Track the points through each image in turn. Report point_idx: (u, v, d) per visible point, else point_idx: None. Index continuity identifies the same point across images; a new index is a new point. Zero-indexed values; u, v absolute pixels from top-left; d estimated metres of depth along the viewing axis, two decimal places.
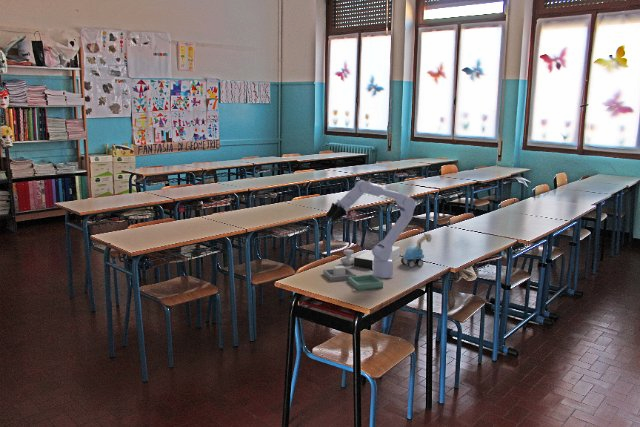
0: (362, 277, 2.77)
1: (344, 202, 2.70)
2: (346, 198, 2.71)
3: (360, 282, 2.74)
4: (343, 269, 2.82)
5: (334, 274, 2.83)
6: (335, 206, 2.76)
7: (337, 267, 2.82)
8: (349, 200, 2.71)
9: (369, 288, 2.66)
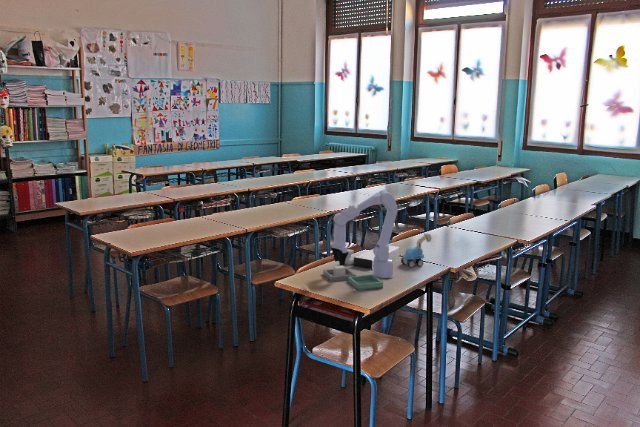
0: (362, 277, 2.77)
1: (338, 245, 2.78)
2: (336, 240, 2.78)
3: (360, 282, 2.74)
4: (343, 269, 2.82)
5: (334, 274, 2.83)
6: (335, 249, 2.85)
7: (337, 267, 2.82)
8: (340, 240, 2.77)
9: (369, 288, 2.66)
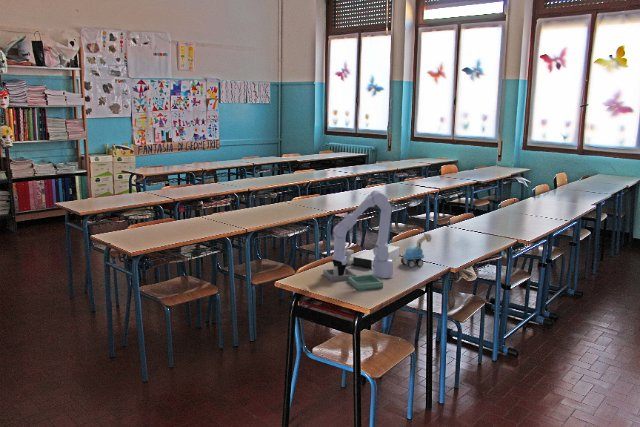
0: (362, 277, 2.77)
1: (338, 256, 2.79)
2: (336, 252, 2.79)
3: (360, 282, 2.74)
4: None
5: (334, 274, 2.83)
6: (336, 261, 2.84)
7: None
8: (340, 252, 2.79)
9: (369, 288, 2.66)
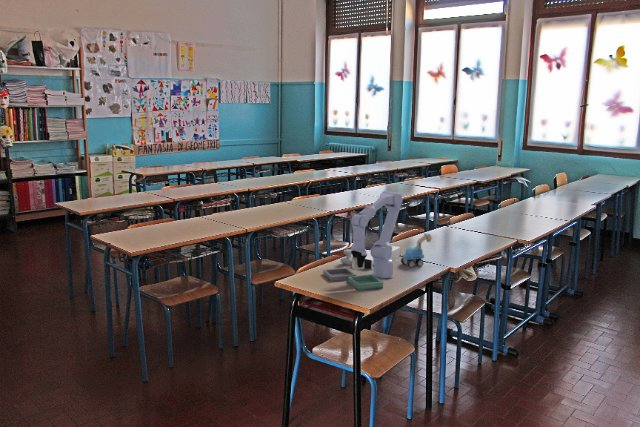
0: (362, 277, 2.77)
1: (357, 247, 2.69)
2: (356, 242, 2.69)
3: (360, 282, 2.74)
4: None
5: (352, 266, 2.73)
6: (355, 252, 2.74)
7: (356, 259, 2.72)
8: (359, 242, 2.69)
9: (369, 288, 2.66)
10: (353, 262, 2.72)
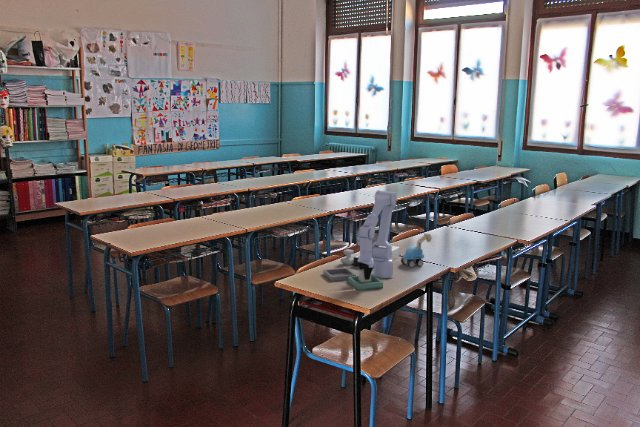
0: None
1: (364, 259, 2.67)
2: (363, 254, 2.67)
3: (360, 282, 2.74)
4: None
5: (359, 278, 2.71)
6: (362, 264, 2.72)
7: (362, 270, 2.70)
8: (366, 254, 2.67)
9: (369, 288, 2.66)
10: (360, 274, 2.70)
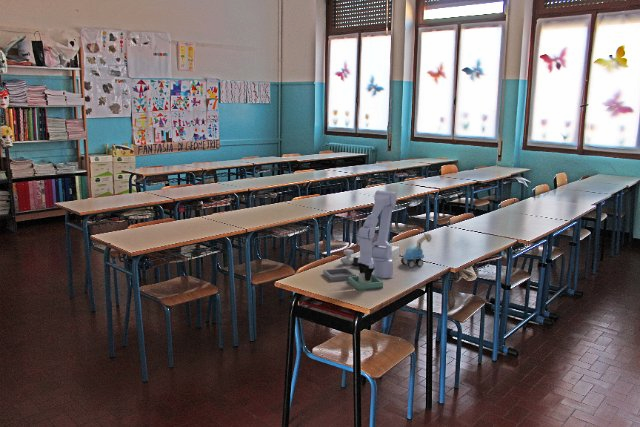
0: None
1: (364, 260, 2.67)
2: (363, 255, 2.67)
3: None
4: None
5: (359, 281, 2.72)
6: (361, 264, 2.73)
7: (363, 274, 2.71)
8: (366, 255, 2.67)
9: (369, 288, 2.66)
10: (360, 278, 2.71)
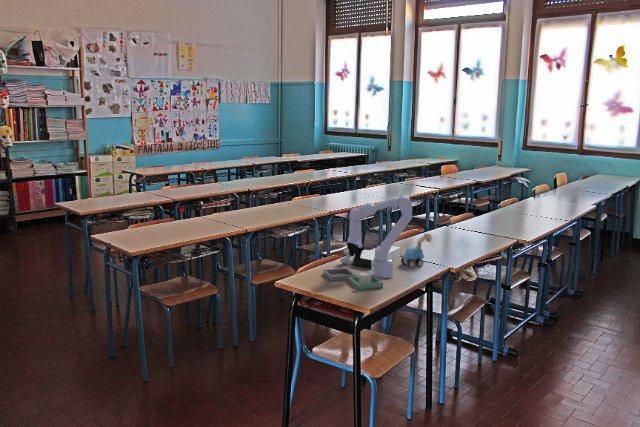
0: None
1: (353, 239, 2.82)
2: (352, 235, 2.82)
3: None
4: (369, 276, 2.70)
5: (359, 281, 2.72)
6: (350, 244, 2.88)
7: (363, 274, 2.71)
8: (355, 235, 2.81)
9: (369, 288, 2.66)
10: (360, 278, 2.71)
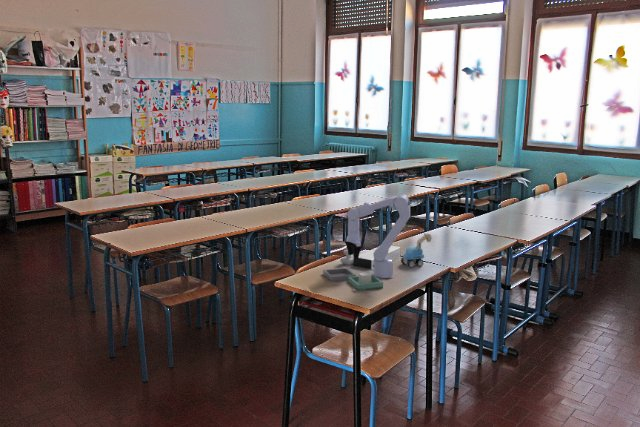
0: None
1: (352, 238, 2.84)
2: (350, 234, 2.84)
3: None
4: (369, 276, 2.70)
5: (359, 281, 2.72)
6: (349, 243, 2.91)
7: (363, 274, 2.71)
8: (354, 234, 2.84)
9: (369, 288, 2.66)
10: (360, 278, 2.71)
